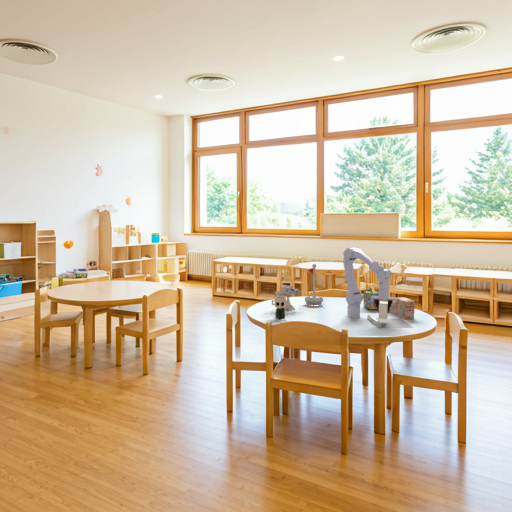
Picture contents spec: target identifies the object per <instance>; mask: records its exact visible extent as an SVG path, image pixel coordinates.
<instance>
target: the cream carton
mask: <svg viewBox="0 0 512 512" xmlns="http://www.w3.org/2000/svg"><path fill="white" fill-rule="evenodd" d="M387 310H388V301H382V300H380V303H379V313H378V318H379V319H387V318H388V316H389V313H387Z"/></svg>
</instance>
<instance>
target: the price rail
mask: <svg viewBox="0 0 512 512" xmlns="http://www.w3.org/2000/svg"><path fill="white" fill-rule="evenodd" d="M366 318H367V320H369V322H371V323H372V324H373V325H374V324H375V325H374V326H376V328H378V329H382V328H381V323H380V322H379V321H378V320H376V319H375V317H374V316H372V314H370V313H369V314H367V317H366Z"/></svg>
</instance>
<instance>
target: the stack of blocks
mask: <svg viewBox="0 0 512 512" xmlns="http://www.w3.org/2000/svg"><path fill="white" fill-rule="evenodd" d="M396 298H397V302H395V301H393V302H392V304H391V306H390V309H389V313H388V314H392V315H394V316H397V317H399V318H400V319H402V320H403V319H404V320H414V319H415V307H416V306H415V305H416V304H415V300H412V299H410V298H407V297H404V296H403V297H396Z"/></svg>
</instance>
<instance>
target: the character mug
mask: <svg viewBox="0 0 512 512" xmlns="http://www.w3.org/2000/svg"><path fill="white" fill-rule="evenodd" d="M289 300H290V299H289ZM289 300H287V296H278V295H276V296H275V297H274V299H272V300H271V305H272V306H274V307H275V308H276V309H275V314H274V315H275V316H274V317H275V318H278V319H279V318H280V319H282V318H283V319H284V318H286V310H285V309H284V308H285V307H286V305H289ZM286 302H288V304H286Z"/></svg>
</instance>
